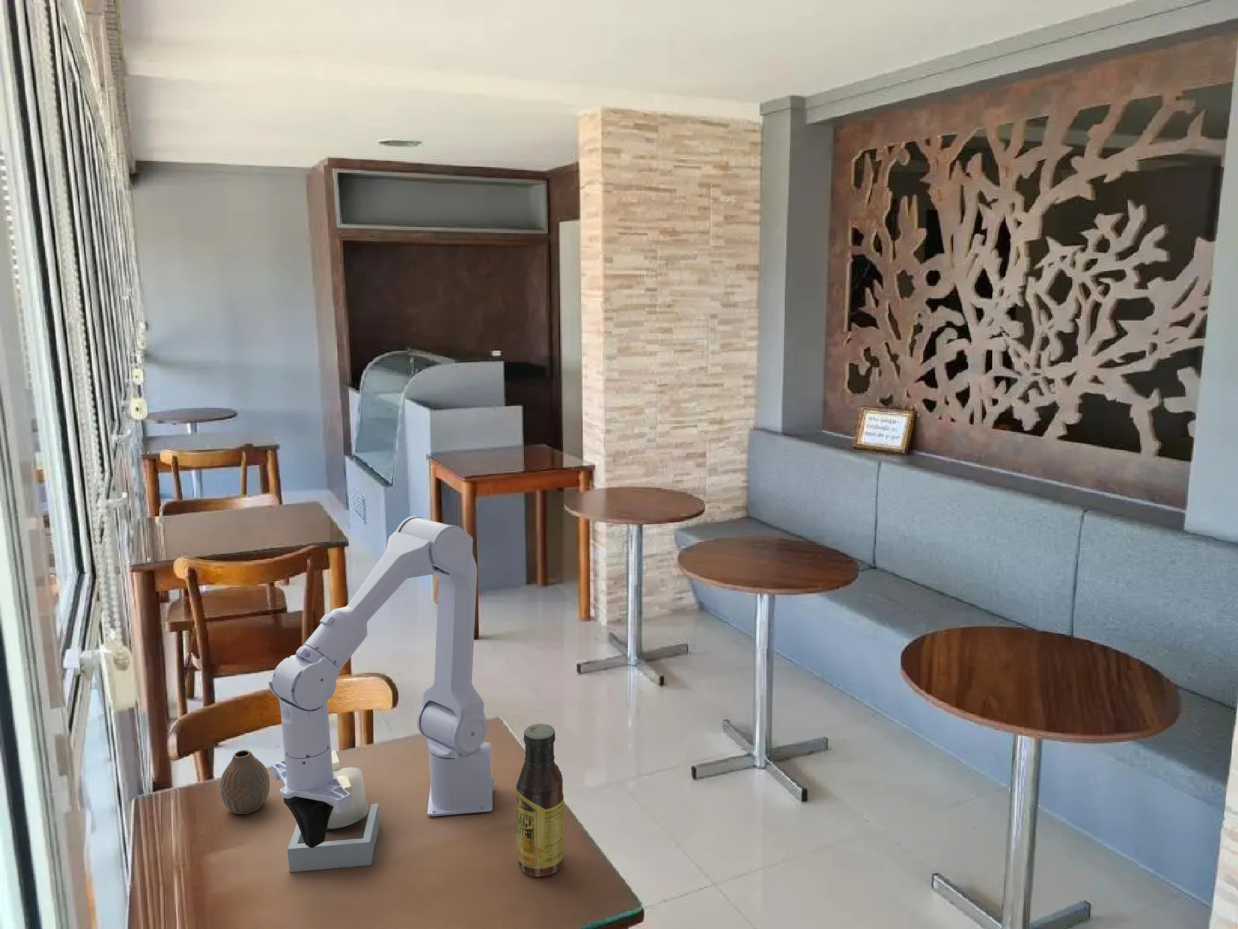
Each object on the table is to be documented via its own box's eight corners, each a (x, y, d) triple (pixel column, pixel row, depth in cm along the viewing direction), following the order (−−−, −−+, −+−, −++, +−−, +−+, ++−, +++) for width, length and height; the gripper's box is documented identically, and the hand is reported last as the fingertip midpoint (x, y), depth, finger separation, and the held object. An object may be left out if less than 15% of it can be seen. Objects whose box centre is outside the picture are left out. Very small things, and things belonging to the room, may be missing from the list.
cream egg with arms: (312, 801, 142) (305, 758, 142) (359, 788, 145) (352, 745, 144) (324, 845, 126) (315, 796, 126) (375, 829, 129) (367, 781, 128)
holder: (379, 824, 134) (378, 803, 133) (371, 865, 124) (369, 842, 124) (303, 831, 132) (302, 809, 132) (289, 872, 123) (287, 849, 122)
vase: (279, 796, 142) (275, 743, 140) (258, 821, 135) (253, 766, 133) (236, 794, 142) (231, 741, 141) (213, 819, 136) (207, 764, 134)
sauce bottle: (511, 858, 125) (507, 722, 122) (555, 847, 128) (552, 713, 124) (526, 886, 120) (522, 744, 116) (571, 874, 122) (568, 735, 118)
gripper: (247, 743, 120) (256, 838, 123) (314, 778, 112) (322, 879, 114) (295, 723, 126) (303, 814, 128) (362, 754, 117) (368, 851, 120)
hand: (315, 843), depth 122 cm, fingers closed
